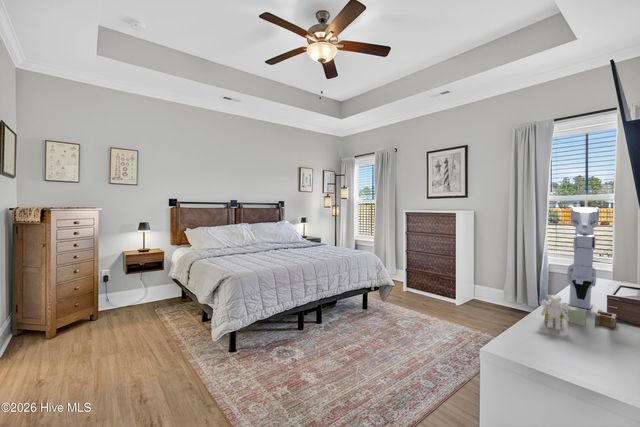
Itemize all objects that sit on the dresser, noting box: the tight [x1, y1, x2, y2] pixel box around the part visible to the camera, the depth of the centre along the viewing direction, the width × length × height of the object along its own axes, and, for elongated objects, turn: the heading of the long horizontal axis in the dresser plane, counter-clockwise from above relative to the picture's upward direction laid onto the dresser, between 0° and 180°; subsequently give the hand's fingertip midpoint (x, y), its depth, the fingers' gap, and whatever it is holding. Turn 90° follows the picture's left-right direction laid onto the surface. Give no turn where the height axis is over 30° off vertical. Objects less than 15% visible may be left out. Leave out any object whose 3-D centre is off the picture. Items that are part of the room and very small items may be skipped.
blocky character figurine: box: [539, 293, 571, 331], centre depth 112 cm, size 9×4×12 cm, turn 43°
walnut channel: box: [561, 302, 617, 328], centre depth 122 cm, size 10×16×4 cm, turn 43°
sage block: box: [566, 305, 588, 327], centre depth 118 cm, size 5×5×5 cm
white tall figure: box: [544, 294, 564, 325], centre depth 118 cm, size 5×5×10 cm
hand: (580, 299), depth 124 cm, fingers closed
